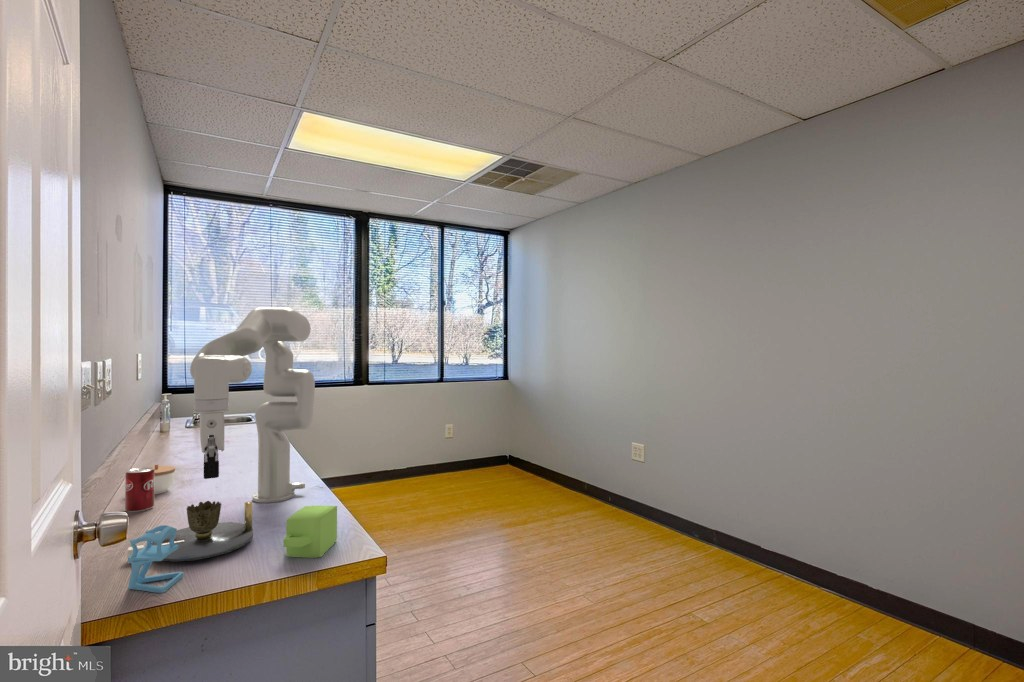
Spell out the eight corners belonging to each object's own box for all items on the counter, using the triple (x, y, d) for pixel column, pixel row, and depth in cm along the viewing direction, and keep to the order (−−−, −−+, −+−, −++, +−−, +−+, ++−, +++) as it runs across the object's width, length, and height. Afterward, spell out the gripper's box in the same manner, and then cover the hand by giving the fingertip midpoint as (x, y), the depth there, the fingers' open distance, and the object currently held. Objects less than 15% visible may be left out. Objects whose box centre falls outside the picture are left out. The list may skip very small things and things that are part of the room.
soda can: (122, 514, 151) (122, 473, 151) (127, 507, 157) (128, 468, 157) (152, 510, 154) (152, 471, 154) (156, 504, 160) (156, 466, 160)
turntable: (246, 521, 142) (246, 491, 142) (259, 547, 124) (259, 513, 124) (150, 538, 129) (150, 505, 129) (148, 569, 111) (148, 532, 111)
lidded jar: (137, 498, 166) (137, 470, 166) (136, 491, 174) (136, 463, 174) (176, 492, 173) (177, 465, 173) (173, 485, 181) (173, 459, 181)
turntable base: (232, 533, 136) (232, 521, 136) (238, 550, 125) (238, 538, 125) (129, 551, 124) (129, 539, 124) (126, 573, 112) (126, 559, 112)
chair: (143, 577, 110) (144, 521, 110) (184, 575, 111) (184, 520, 111) (119, 594, 103) (120, 535, 103) (163, 593, 103) (164, 534, 103)
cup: (195, 545, 122) (196, 511, 122) (180, 539, 126) (180, 506, 126) (227, 535, 128) (227, 503, 128) (211, 529, 132) (211, 498, 132)
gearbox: (306, 534, 136) (306, 498, 136) (343, 535, 135) (343, 499, 136) (272, 563, 118) (273, 522, 118) (314, 564, 117) (315, 523, 118)
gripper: (229, 408, 123) (229, 479, 123) (227, 401, 138) (227, 464, 138) (193, 410, 119) (192, 483, 119) (194, 402, 134) (194, 467, 134)
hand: (211, 473), depth 128 cm, fingers open, 9 cm apart
